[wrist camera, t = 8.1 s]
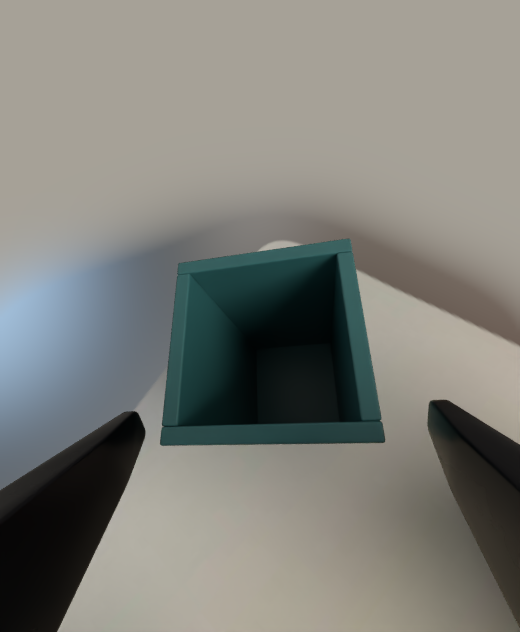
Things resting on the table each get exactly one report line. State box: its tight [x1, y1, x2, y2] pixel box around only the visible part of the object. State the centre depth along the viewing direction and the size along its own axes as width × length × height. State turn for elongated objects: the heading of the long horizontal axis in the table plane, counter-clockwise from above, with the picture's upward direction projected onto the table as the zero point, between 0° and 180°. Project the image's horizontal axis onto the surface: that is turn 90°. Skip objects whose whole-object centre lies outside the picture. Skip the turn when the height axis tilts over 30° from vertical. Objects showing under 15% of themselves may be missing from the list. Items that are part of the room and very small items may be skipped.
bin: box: [160, 239, 385, 446], centre depth 13 cm, size 6×6×11 cm
